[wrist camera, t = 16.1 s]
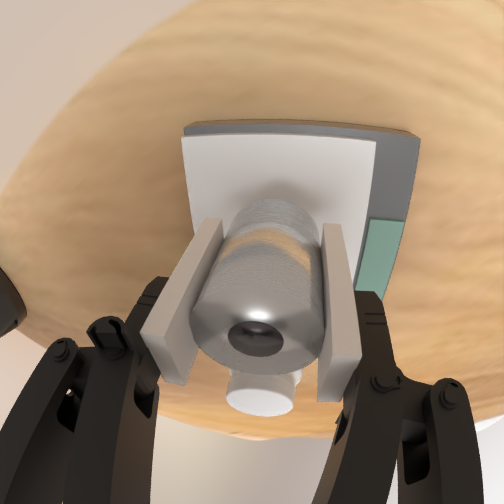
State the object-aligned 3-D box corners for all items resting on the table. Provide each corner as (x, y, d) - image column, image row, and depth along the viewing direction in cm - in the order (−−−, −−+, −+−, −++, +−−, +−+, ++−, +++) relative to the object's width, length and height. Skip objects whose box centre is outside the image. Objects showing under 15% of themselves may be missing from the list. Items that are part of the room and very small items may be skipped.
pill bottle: (318, 303, 21) (318, 404, 14) (281, 333, 23) (269, 424, 17) (266, 272, 20) (247, 377, 13) (233, 307, 22) (207, 401, 16)
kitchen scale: (220, 316, 27) (213, 337, 25) (194, 122, 17) (179, 129, 15) (364, 325, 25) (367, 347, 23) (409, 132, 15) (424, 141, 13)
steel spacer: (226, 196, 13) (177, 282, 8) (324, 202, 12) (336, 295, 7) (231, 273, 15) (200, 367, 10) (314, 279, 15) (314, 380, 10)
